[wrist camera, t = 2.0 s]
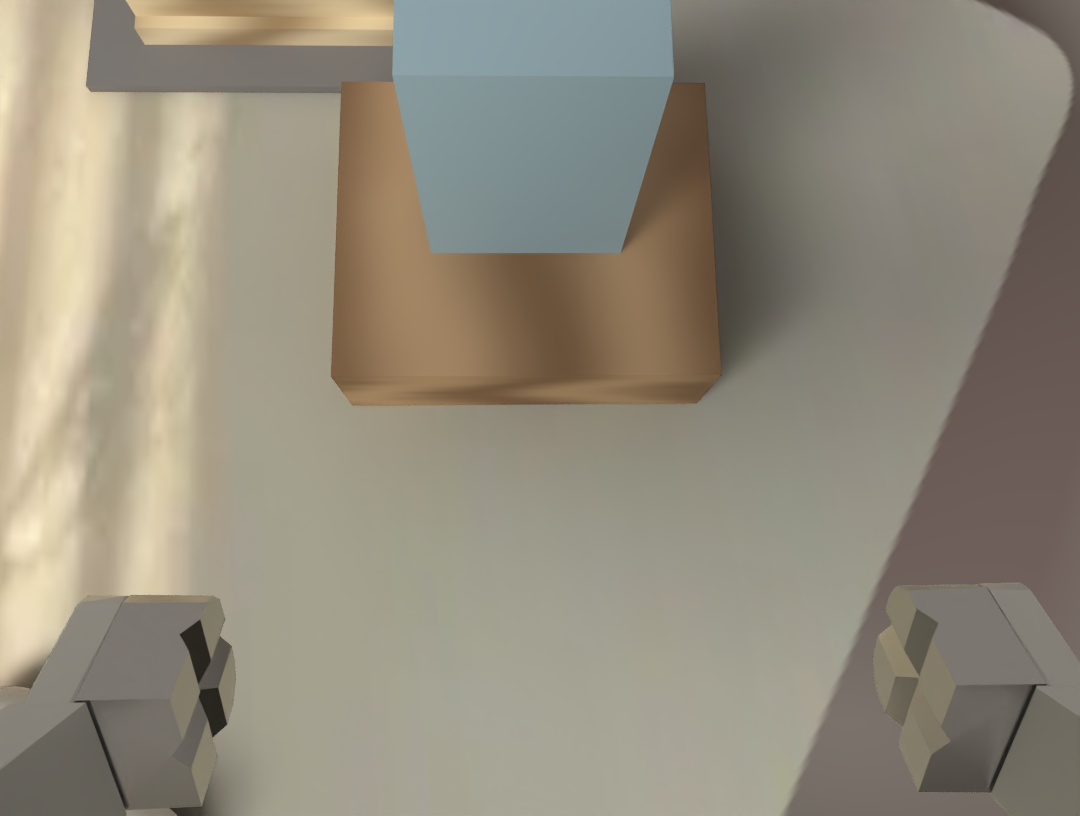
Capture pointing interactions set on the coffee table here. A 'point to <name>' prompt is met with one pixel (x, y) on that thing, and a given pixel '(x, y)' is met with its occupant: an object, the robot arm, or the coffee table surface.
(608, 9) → the pale blue rectangular prism
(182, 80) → the mat
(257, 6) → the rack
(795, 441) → the coffee table surface
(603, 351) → the block
